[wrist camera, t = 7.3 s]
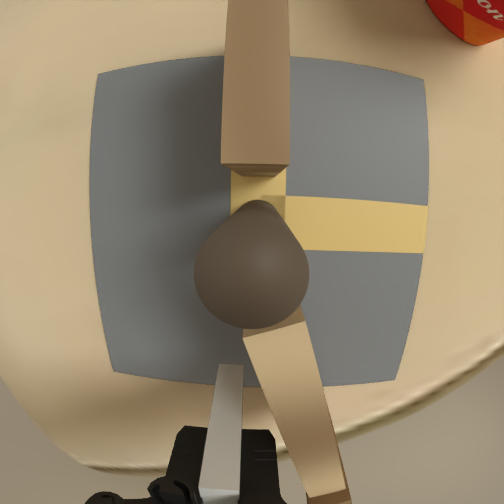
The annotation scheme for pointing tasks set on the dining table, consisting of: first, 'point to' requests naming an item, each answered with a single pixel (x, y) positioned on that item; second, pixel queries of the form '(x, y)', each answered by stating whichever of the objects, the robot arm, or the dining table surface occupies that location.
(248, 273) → the fixed fence panel and posts
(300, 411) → the hinged fence panel
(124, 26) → the dining table surface
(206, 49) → the dining table surface
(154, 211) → the board
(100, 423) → the dining table surface
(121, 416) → the dining table surface
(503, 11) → the paper cup
